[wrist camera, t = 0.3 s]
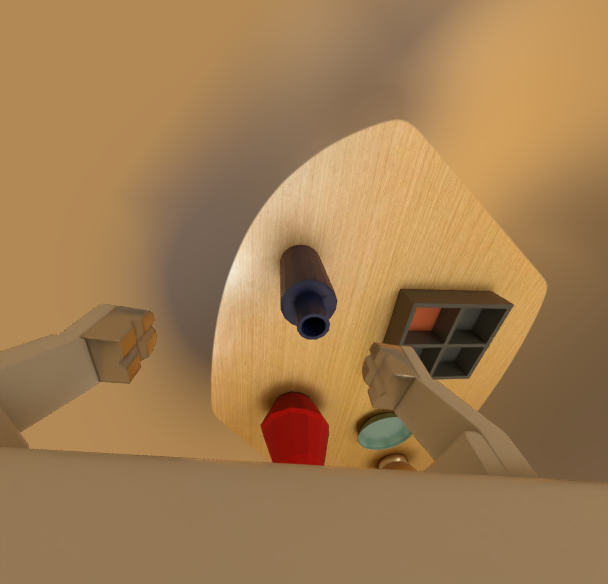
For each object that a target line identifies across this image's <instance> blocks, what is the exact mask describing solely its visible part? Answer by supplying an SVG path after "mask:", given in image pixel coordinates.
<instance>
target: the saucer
mask: <svg viewBox="0 0 608 584" xmlns="http://www.w3.org/2000/svg"><path fill="white" fill-rule="evenodd" d="M411 435H412V433H411V432H410V430H409V429H408V428H407V427H406V426H405V424H404V423H403V422H402V421H401V420H400V418H399V417H398V416H397V415H396V414H395V413H383V414H379V415H376V416H374V417H372V418H370V419H369V420H368V421H366V422H365V424H364V425H363V427H362V428H361V430H360V433H359V436H358V442H359V444H360V445H361V446H362V447H364V448H367V449H373V450H381V449H387V448H391V447H394V446H397V445H399V444H401V443H403V442H404V441H406V440H407V439H408V438H409V437H410V436H411Z"/></svg>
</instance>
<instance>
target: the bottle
mask: <svg viewBox="0 0 608 584" xmlns="http://www.w3.org/2000/svg"><path fill="white" fill-rule="evenodd" d="M261 429H262V432H263V436H264V439H265V442H266V445H267V448H268V451H269V453H270V456H271V459H272V462H273V463H286V464H303V465H320V466H324V463H325V456H326V450H327V443H328V437H329V425H328V423H327V422H326V420H325V419H324V417H323V416H322V415H321V413H320V412H319V410H318V409H317V408H316V406H315V405H314V403H313V402H312V401H311V399H310V398H309V397H308V396H307V395H304V394H302V393H299V392H289V393H286V394H283V395H281V396H280V397H279V398H278V399H277V400H276V401H275V403H274V404H273V406H272V408H271V409H270V411H269V412H268V414H267V416H266V417H265V419H264V420H263V422H262V424H261Z"/></svg>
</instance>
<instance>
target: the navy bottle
mask: <svg viewBox="0 0 608 584" xmlns="http://www.w3.org/2000/svg"><path fill="white" fill-rule="evenodd" d="M280 295H281V311H282V313H283V316H284V318H285V319H286V320H288V321H289V322H290V323H291V324H293V325H296V326H297V331H298V332H299V334H300V335H301V336H302V337H304V338H306V339H318V338H321V337H323V336H324V335H325V334H326V333H327V332H328V331H329V326H330V322H329V319H330V318H331V316H332V315H333V313H334V312H335V310H336V305H337V299H336V295H335V292H334V290H333V287H332V285H331V283H330V280H329V278H328V276H327V273H326V271H325V269H324V266H323V264H322V261H321V259H320V257H319V255H318V254H317V252H316V251H315V250H314V249H312V248H311V247H309V246H305V245H296V246H293V247H291V248H289V249H288V250H287V251H286V252H285V253H284V254H283V256H282V258H281V261H280Z"/></svg>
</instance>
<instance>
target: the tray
mask: <svg viewBox="0 0 608 584" xmlns="http://www.w3.org/2000/svg"><path fill="white" fill-rule="evenodd" d="M513 306H514V305H513V304H512V303H510V302H509V301H507V300H505V299H504V298H502V297H500V296H499V295H497V294H495V293H494V292H492V291H464V290H419V289H400V292H399V295H398V298H397V301H396V305H395V308H394V311H393V314H392V317H391V320H390V324H389V327H388V330H387V333H386V336H385V339H384V342H383V344H390V345H397V346H398V345H401V346H409V347H412V348H413V349H414V350H415V352H416V353H417V355H418V357H419V358H420V360H421V361H422V363H423V365H424V366H425V368H426V369H427V371H428V373H429V374H430V376H431V377H432V379H433V380H436V379H469V378H470V376H471V374H472V373H473V371H474V369H475V368H476V366H477V365H478V363H479V361H480V360H481V358H482V356H483V355H484V353H485V351H486V350H487V348H488V347H489V345H490V343H491V342H492V340H493V338H494V337H495V335H496V333H497V332H498V330H499V329H500V327H501V325H502V324H503V322H504V320H505V319H506V317H507V315H508V314H509V312H510V311H511V309H512V307H513Z"/></svg>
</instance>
